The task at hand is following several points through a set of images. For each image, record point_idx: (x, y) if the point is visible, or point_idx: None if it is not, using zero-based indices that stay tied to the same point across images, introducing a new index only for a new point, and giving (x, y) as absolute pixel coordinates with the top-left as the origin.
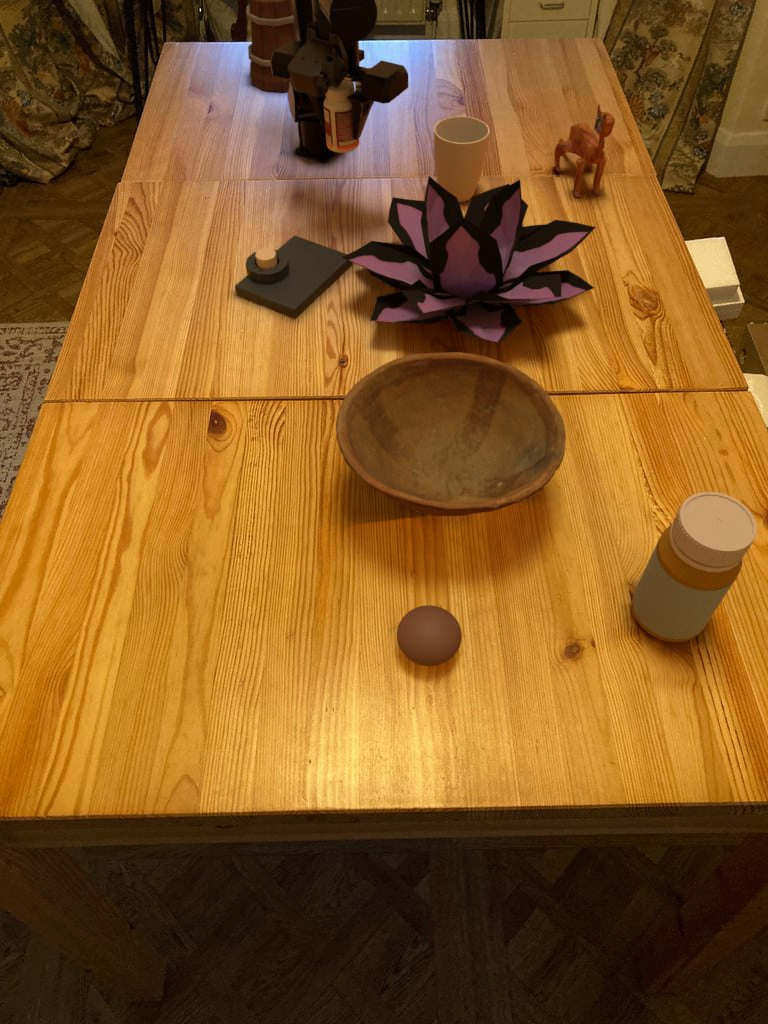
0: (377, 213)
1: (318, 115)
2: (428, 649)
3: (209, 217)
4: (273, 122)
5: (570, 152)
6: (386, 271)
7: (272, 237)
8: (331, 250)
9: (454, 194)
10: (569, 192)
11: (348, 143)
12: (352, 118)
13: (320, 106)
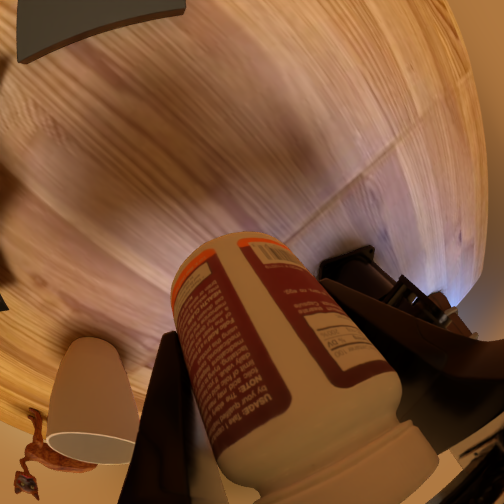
0: (123, 228)
1: (382, 307)
2: None
3: (379, 19)
4: (412, 270)
5: None
6: None
7: (245, 5)
8: (64, 32)
9: (69, 350)
10: (41, 410)
11: (179, 299)
12: (181, 422)
13: (400, 347)
